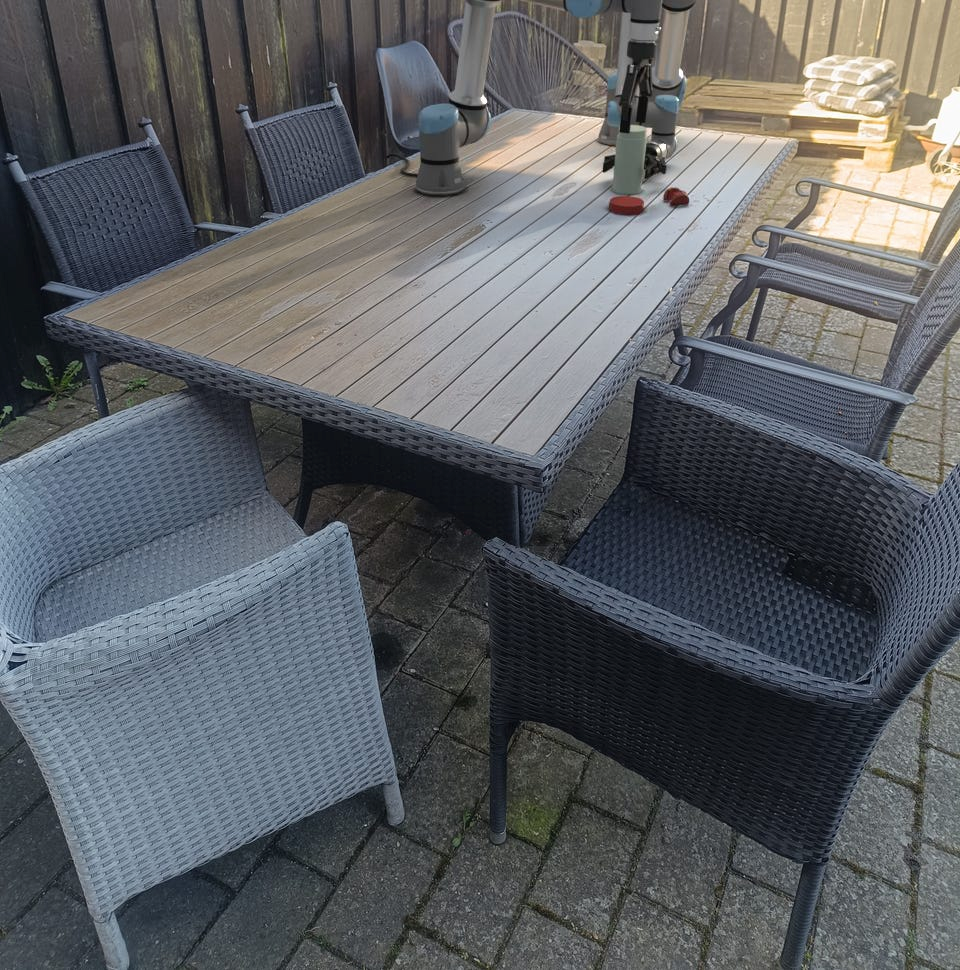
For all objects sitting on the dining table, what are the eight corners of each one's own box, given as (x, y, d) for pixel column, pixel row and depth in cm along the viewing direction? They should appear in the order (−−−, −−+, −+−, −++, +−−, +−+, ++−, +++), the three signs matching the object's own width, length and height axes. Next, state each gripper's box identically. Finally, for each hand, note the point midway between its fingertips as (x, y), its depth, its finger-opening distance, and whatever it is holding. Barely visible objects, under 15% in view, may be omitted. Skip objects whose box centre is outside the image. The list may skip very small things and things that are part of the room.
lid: (601, 208, 244) (602, 199, 243) (626, 202, 249) (627, 193, 247) (625, 217, 237) (626, 208, 236) (650, 210, 242) (651, 202, 241)
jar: (646, 190, 258) (653, 128, 248) (630, 196, 253) (636, 133, 243) (623, 184, 263) (629, 123, 253) (606, 190, 258) (611, 128, 248)
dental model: (680, 183, 249) (692, 191, 242) (678, 197, 251) (690, 206, 245) (662, 185, 248) (674, 193, 241) (661, 199, 250) (672, 208, 244)
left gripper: (641, 48, 207) (630, 139, 220) (671, 35, 225) (660, 119, 238) (612, 46, 210) (603, 135, 223) (644, 33, 228) (634, 116, 241)
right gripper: (686, 172, 264) (662, 190, 249) (613, 161, 274) (585, 177, 260) (690, 147, 260) (665, 163, 245) (615, 137, 270) (587, 152, 255)
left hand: (632, 127), depth 230 cm, fingers open, 13 cm apart
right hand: (624, 171), depth 252 cm, fingers open, 13 cm apart
